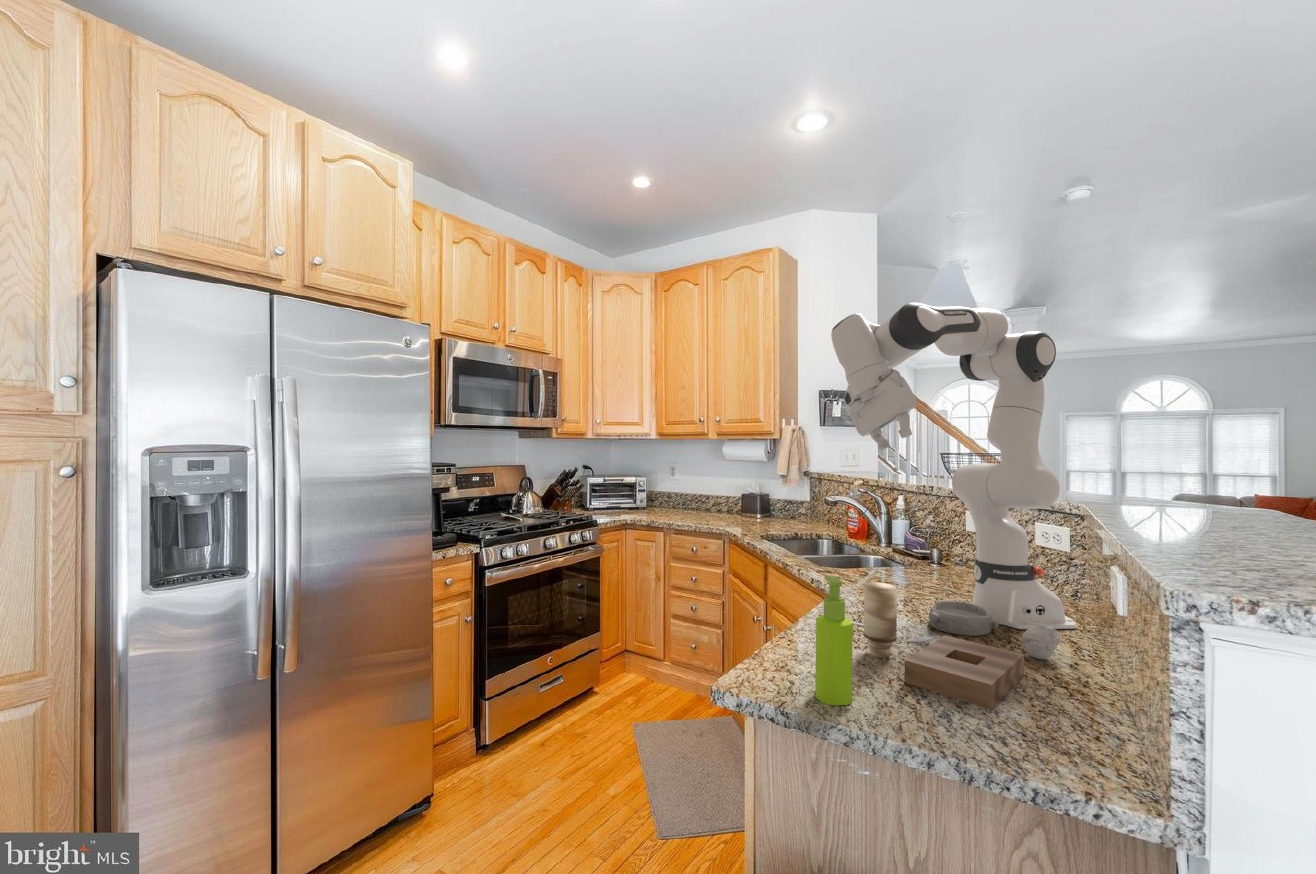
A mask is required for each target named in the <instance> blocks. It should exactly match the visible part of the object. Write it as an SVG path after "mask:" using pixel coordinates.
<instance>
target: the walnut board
mask: <svg viewBox="0 0 1316 874" xmlns="http://www.w3.org/2000/svg"><path fill="white" fill-rule="evenodd" d="M1024 677H1025V654H1024V653H1020V652H1016V651H1011V650H1007V649H1003V648H999V647H996V646H990V645H987V644H983V643H978V642H974V641H970V640H967V639H962V638H959V637H954V636H949V635H945V634H944V635H943V636H941V637H939V638H938V639H936V640H935V641H934V640H933V642H932V643H930V644H928V645H926V646H924V647H923V648H922V649H920V650H919V651H916V652H915V653H913V654H912V655H911V656H909V657H907V658H905V659H904V683H906V684H909V685H912V686H915V687H917V688H918V687H919V688H922V689H924V690H928V691H931V692H934V693H938V694H941V695H944V696H948V697H951V698H954V699H957V700H961V701H962V702H965V703H969V704H973V705H976V706H979V707H981V708H982V707H983V708H985V709H988V710H993V709H994V708H995V707H996V705H998V704H999V703H1000V701H1001V700H1003V698H1005V697H1006V696H1007V695H1008V693H1009V692H1010V691H1011V690H1012V689H1013V688H1014V687H1015V686H1016V685H1017V684H1018V683H1019V682H1020V681H1021V680H1022V679H1023V678H1024Z"/></svg>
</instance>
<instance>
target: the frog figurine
mask: <svg viewBox="0 0 1316 874" xmlns="http://www.w3.org/2000/svg"><path fill="white" fill-rule="evenodd" d="M1021 643H1022V644H1023V645H1024V648H1025V651H1026V652H1027V654H1028V655H1030V656H1031V657H1033V658H1034V659H1036V660H1037V659H1038V660H1047V659H1049V658H1051V657H1052V656H1053V655H1054V654H1055V649H1057V648H1058V645H1059V644H1060V643H1061V634H1060V633H1059V631H1057V629H1054V628H1052V627H1051V626H1049V625H1046V624H1043V623H1039V624H1037V625H1036V626H1034V627H1031V628H1029V629H1025V631H1024V632H1023V633H1022V636H1021Z"/></svg>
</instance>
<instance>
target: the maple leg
mask: <svg viewBox="0 0 1316 874" xmlns="http://www.w3.org/2000/svg"><path fill="white" fill-rule="evenodd" d="M863 588H864V590H863V591H864V594H863V595H864V597H863V600H864V602H863V611H864V612H863V615H864V616H863V624H864V626H863V637H864V638H865V639H867V640H868V645H869V653H870V655H871V656H873V657H876V658H879V659H888V658H890V657H891V648H892V646H893V645H892V644H893V643H895V642H897V639H898V638H897V636H896V635H897V634H898V633H897V617H898V616H897V613H898V612H897V611H898V609H897V607H898V605H897V604H898V600H897V599H898V597H897V595H898V587H897V586H896V585H893V584H889V583H884V582H874V581H873V582H866V583H864V586H863Z"/></svg>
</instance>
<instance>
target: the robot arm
mask: <svg viewBox="0 0 1316 874" xmlns="http://www.w3.org/2000/svg"><path fill="white" fill-rule="evenodd" d="M1008 331H1009V322H1008V319H1007V318H1006V316H1005V314H1003V313H1002V312H1001V311H999V310H996V309H994V308H986V307H985V308H984V307H975V308H973V307H972V308H970V307H968V306H967V307H966V306H932V305H927V304H924V303H920V302H909V303H908V302H907V303H906V304H904V305H903V306H901V308H899V309H898V310H897V311H896V312H895V313H894V314H893V315H892V316H890V318H888V319H887V320H886V321H884V322H883V323H882V324H874V323H872V322H871V321H868V320H866V319H865V316H863V314H862V313H853V314H850V315H848V316H847V317H844V319H842V320H840V321H839V322H837V324H835V325H834V326H833V328H832V330H831V332H830V333H831V334H830V335H831V341H832V346H833V349H834V351H835V354H836V358H837V360H838V362H839V363H840V365H841V366H842V368H843V369H844V373H845V379H846V381H847V384H848V385H847V386H846V387H847V388H846V391H845V394H844V397H843V404H844V406H845V407H849V409H848V412H849V415H850V417H851V421H852V423H853V425H854V427H855V429H856V431H857V433H858V434H859V435H860V436H861V437H865V436H870V437H871V438H872V440H873V441H874V442H875V443H876V444H877V446H878V449H879V450H880V451H883V450H887V449H889V447H890V443H889V440H888V439H885V437H884V436H883V431H882V429H883V428H885V427H886V426H888V425H889V424H891V423H893V422H894V421H896V422H898V426H899V430H898V433H899V436H900V438H901V439H905V438H908V437H910V436H912V435H913V432H912V430H911V427H910V425H911V424H910V423H911V421H910V415H909V412H910V411H911V410H913V409H915V408H917V397H916V396H915V394H914V392H913V390H912V388H911V387H910V385H909V384H908V382H907V380H906V379H905V378H904V376H901V373H900V371H899V370H896V369H894V368H895V367H897V366H898V365H900V364H902V363H904V362H905V361H906V360H908V359H910V357H913V356H914V355H916V354H917V353H919V352H920V351H922V350H923V349H926V348H928V347H929V346H931V345H932V344H935V346H936V348H937V349H938V350H939V351H940V352H941V353H942V354H944V355H946V356H950V357H951V356H952V357H959V360H958V361H959V362H958V363H959V368H960V370H961V372H962V374H963V375H964V376H965V377H966V378H967V379H969V380H971V381H977V382H984V381H998V386H999V387H998V389H997V392H996V394H995V397H994V401H993V405H992V409H991V413H990V419H989V423H988V429H987V433H986V436H987V437H986V438H987V440H988V442H989V443H990V444H991V445H992V446H993V447H994V448H996V449H997V450H998V451H999V452H1000V456H1001V457H1000V463H992V462H991V463H990V462H989V463H987V462H977V463H970V464H965V465H961V466H959V467H958V468H957V469H956V470H955V471H954V472H953V475H952V477H951V488H952V490H953V492H954V493H953V494H954V495H955V496H956V497H958V499H959V500H960V501H962V502H963V504H964V505H965V507H966V508H967V510H968V512H969V514H970V516H971V518H972V519H971V520H972V522H973V524H974V529H975V536H976V537H975V540H976V541H975V542H976V543H975V544H976V557H975V559H974V567H973V568H974V569H973V572H974V573H973V575H974V581H975V584H974V585H975V586H974V592H973V597H972V602H971V603H972V604H975V605H978V606H980V607H983V608H985V609H987V610H988V612H989V613H991V615H992V618H993V619H998V621H999V625H1003V626H1007V627H1011V628H1013V629H1018V630H1028V629H1029V628H1031V627H1034V626H1036V625H1037V624H1039V623H1043V624H1046V625H1049V626H1051V627H1052V628H1054V629H1055V630H1059V629H1061V630H1063V629H1065V630H1066V629H1077V623H1076V621H1075V620H1073V619H1072V618H1070V617H1069V616H1066V614H1065V607H1064V604H1063V601H1062V600H1061V598H1060V597H1059V596H1058V595H1056V593H1054V592H1053V591H1051V590H1050V589H1049V588H1047V587H1046V586H1045V585H1043V583H1041V582H1040V581H1038V580H1037V578H1036V576H1038V577H1044V575H1045V574H1046V570H1045V569H1044V568H1042V567H1039V566H1033V565H1031V564H1029V559H1028V557H1029V554H1028V553H1029V546H1028V545H1029V536H1028V533H1027V531H1026V530H1025V528H1024V527H1023V526H1021V525H1019V524H1018V523H1017V522H1015V521H1014V519H1013V517H1012V516H1011V514H1010V512H1009V508H1011V509H1017V510H1018V509H1019V510H1026V511H1027V510H1038V509H1039V510H1040V509H1046V508H1049V507H1051V506H1052V505H1054V503H1056V501H1057V499H1058V497H1059V495H1060V489H1061V487H1060V482H1059V480H1058V477H1057V476H1056V474H1055V473H1054V472H1053V471H1052V470H1051V469H1049V468H1048V467H1047V465H1046V464H1045V463H1044V461H1043V459H1042V457H1041V454H1040V451H1039V438H1040V437H1039V436H1040V432H1041V431H1040V430H1041V425H1042V418H1043V413H1044V406H1045V384H1044V380H1043V379H1045V377H1046V376H1047V374H1048V372H1049V371H1050V369H1051V368H1052V367H1053V364H1054V362H1055V360H1056V356H1057V348H1056V344H1055V342H1054V340H1053V339H1052V338H1051V337H1050V335H1048V333H1047V332H1043V331H1025V332H1024V333H1023V332H1022V333H1021V332H1020V333H1012V334H1011V333H1009V334H1008Z"/></svg>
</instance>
